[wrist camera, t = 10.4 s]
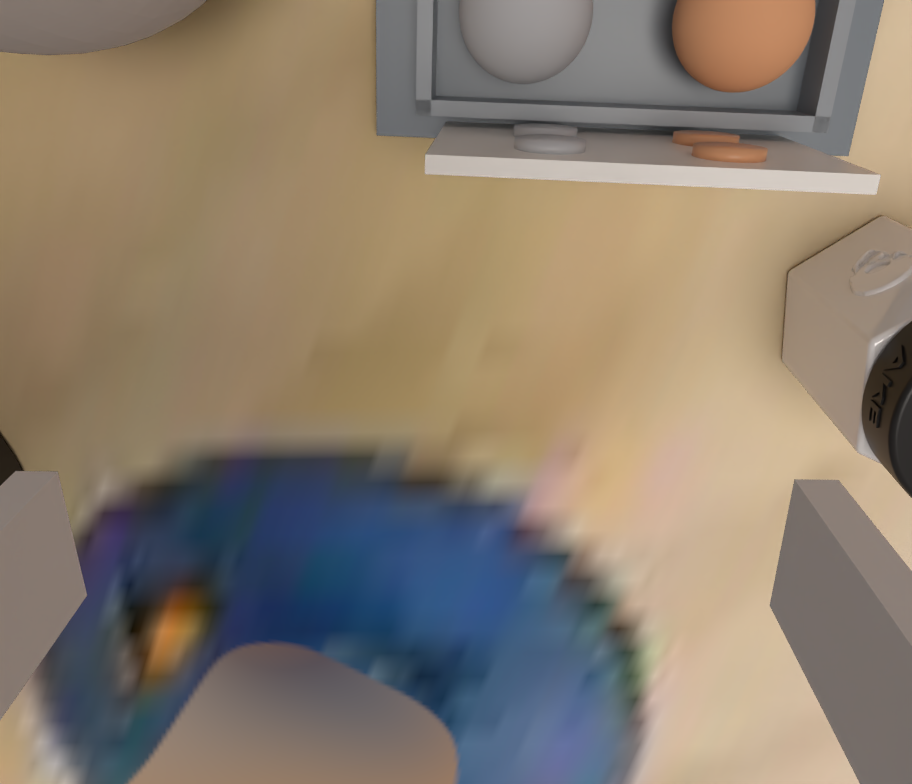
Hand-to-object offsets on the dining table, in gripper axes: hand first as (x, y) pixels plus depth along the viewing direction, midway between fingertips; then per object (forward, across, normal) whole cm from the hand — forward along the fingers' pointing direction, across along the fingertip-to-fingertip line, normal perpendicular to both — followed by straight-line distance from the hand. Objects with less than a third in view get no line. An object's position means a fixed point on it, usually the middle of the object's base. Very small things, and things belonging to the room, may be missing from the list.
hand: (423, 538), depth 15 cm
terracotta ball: (+23, +11, +9) cm, 27 cm away
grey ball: (+24, +3, +9) cm, 25 cm away
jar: (+24, +19, -4) cm, 31 cm away
